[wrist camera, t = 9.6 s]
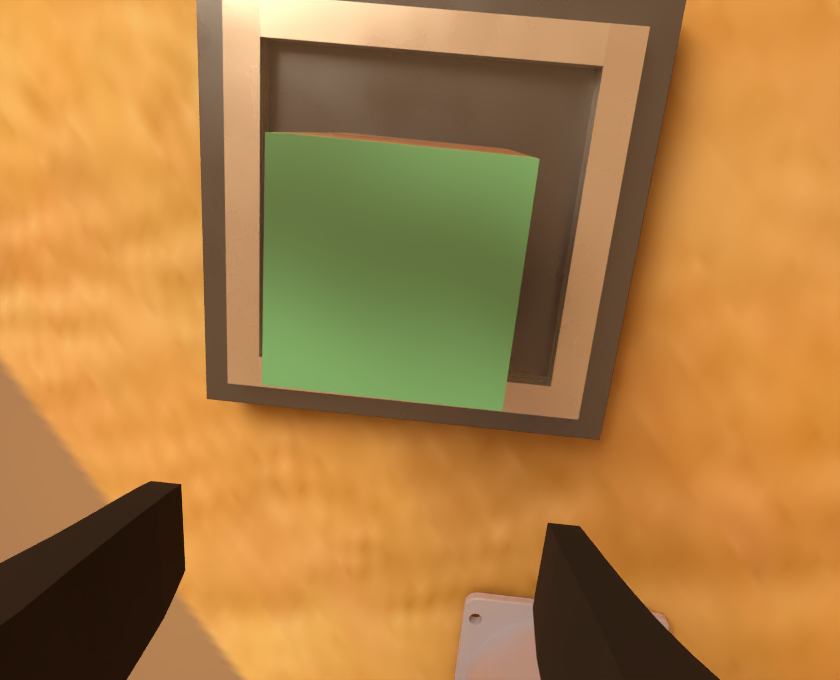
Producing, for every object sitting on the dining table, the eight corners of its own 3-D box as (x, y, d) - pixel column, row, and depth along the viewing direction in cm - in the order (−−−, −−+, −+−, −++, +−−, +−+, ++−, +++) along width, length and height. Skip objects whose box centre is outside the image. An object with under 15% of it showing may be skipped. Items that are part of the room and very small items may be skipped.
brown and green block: (485, 301, 19) (502, 411, 12) (340, 285, 19) (262, 384, 12) (505, 148, 18) (539, 158, 10) (348, 132, 18) (264, 131, 10)
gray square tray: (587, 413, 22) (604, 451, 20) (228, 376, 23) (197, 409, 20) (663, 7, 18) (698, -15, 15) (222, -30, 18) (182, -57, 16)
